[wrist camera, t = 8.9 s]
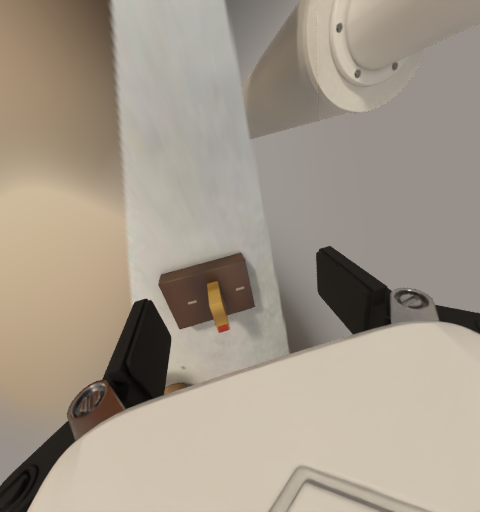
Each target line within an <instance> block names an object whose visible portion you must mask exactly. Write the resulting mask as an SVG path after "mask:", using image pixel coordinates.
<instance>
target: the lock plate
mask: <svg viewBox="0 0 480 512" xmlns="http://www.w3.org/2000/svg"><path fill="white" fill-rule="evenodd" d="M215 281H218V284H219V287H220V290H221V294H222V297H223V300H224V304H225V308H226V312H227V315H230V314H233V313H237V312H240V311H243V310H247V309H250V308H253V307H255V305H254V300H253V296H252V291H251V287H250V282H249V277H248V273H247V268H246V264H245V260H244V258H243V256H242V254H241V253H239V254H235V255H232V256H228V257H224V258H221V259H217V260H213V261H210V262H206V263H202V264H199V265H195V266H192V267H188V268H184V269H181V270H177V271H173V272H170V273H166V274H162V275H161V277H160V280H159V284H158V285H159V287H160V289H161V291H162V293H163V295H164V298H165V300H166V302H167V304H168V306H169V308H170V310H171V312H172V314H173V317H174V319H175V321H176V323H177V325H178V327H179V329H183V328H186V327H190V326H193V325H196V324H200V323H203V322H206V321H210V320H213V319H214V318H213V315H212V312H211V309H210V306H209V299H208V289H207V284H208V283H212V282H215Z"/></svg>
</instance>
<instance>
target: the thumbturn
mask: <svg viewBox="0 0 480 512" xmlns="http://www.w3.org/2000/svg"><path fill="white" fill-rule="evenodd" d="M207 289H208V299H209V306H210V309H211V312H212V315H213V318H214V321H215V324H216V327H217V330H218V332H219V333H220V332H223V331H227V330H229V329H230V327H229V322H228V317H227V312H226V308H225V304H224V300H223V297H222V294H221V290H220V287H219V284H218V281H215V282H212V283H208V284H207Z"/></svg>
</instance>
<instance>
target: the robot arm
mask: <svg viewBox="0 0 480 512" xmlns="http://www.w3.org/2000/svg"><path fill="white" fill-rule="evenodd" d="M479 23H480V0H334V4H333V7H332V12H331V18H330V28H329V39H330V49H331V53H332V57H333V61H334V63H335V65H336V67H337V70H338V71H339V72H340V74H341V75H342V77H343V78H344V79H346V80H347V81H348V82H349V83H351V84H353V85H355V86H360V87H369V86H373V85H376V84H379V83H381V82H383V81H385V80H387V79H389V78H390V77H391V76H393V75H394V74H395V73H396V72H397V71H398V70H399V69H400V68H401V67H402V66H403V64H404V63H405V62H406V60H407V59H408V58H409V56H410V55H412V54H414V53H416V52H418V51H420V50H422V49H425V48H427V47H429V46H431V45H433V44H436V43H437V42H440V41H442V40H444V39H446V38H448V37H451V36H453V35H455V34H457V33H459V32H462V31H464V30H466V29H468V28H470V27H472V26H474V25H477V24H479ZM316 261H317V284H318V285H317V287H318V293H319V295H320V296H321V298H322V299H323V300H324V301H325V302H326V303H327V305H328V306H329V307H330V308H331V309H332V310H333V312H334V313H335V314H336V315H337V316H338V317H339V318H340V320H341V321H342V322H343V323H344V324H345V326H346V327H347V328H348V329H349V330H350V331H351V333H352V334H353V335H350V336H347V337H343V338H340V339H337V340H334V341H331V342H327V343H324V344H321V345H318V346H315V347H311V348H308V349H305V350H302V351H299V352H296V353H292V354H289V355H286V356H283V357H280V358H276V359H273V360H270V361H267V362H264V363H261V364H258V365H254V366H251V367H248V368H245V369H242V370H239V371H236V372H233V373H229V374H226V375H223V376H220V377H217V378H214V379H211V380H208V381H205V382H202V383H199V384H196V385H193V386H189V387H186V388H183V389H180V390H177V391H175V392H172V393H169V394H166V395H164V391H165V384H166V376H167V369H168V361H169V354H170V347H171V335H170V333H169V331H168V329H167V327H166V326H165V324H164V322H163V320H162V318H161V316H160V315H159V313H158V311H157V309H156V307H155V305H154V304H153V302H152V301H151V300H148V299H143V300H140V301H136V302H135V303H134V305H133V307H132V309H131V312H130V314H129V317H128V319H127V322H126V324H125V326H124V329H123V331H122V334H121V336H120V338H119V341H118V343H117V346H116V348H115V350H114V353H113V355H112V358H111V360H110V362H109V365H108V367H107V370H106V372H105V375H104V377H103V379H102V380H100V381H96V382H94V383H92V384H90V385H88V386H87V387H86V388H84V389H83V390H82V391H81V392H80V393H79V394H78V395H77V396H76V397H75V398H74V400H73V401H72V403H71V405H70V406H69V409H68V412H67V418H68V421H67V422H66V423H65V424H64V425H63V426H62V427H61V428H60V429H59V430H58V431H57V432H56V433H55V434H53V435H52V436H51V437H50V438H49V439H48V440H47V441H46V442H45V443H44V444H43V445H42V446H41V447H39V448H38V449H37V450H36V451H35V452H34V453H33V454H32V455H31V456H30V457H29V458H28V459H27V460H26V461H25V462H23V463H22V464H21V465H20V466H19V467H18V468H17V469H16V470H15V471H14V472H13V473H12V474H11V475H10V476H9V477H8V478H7V479H6V480H5V481H4V482H3V483H2V485H1V486H0V512H480V313H475V312H470V311H465V310H459V309H454V308H448V307H443V306H438V305H435V303H434V301H433V299H432V298H431V297H430V296H429V295H427V294H425V293H423V292H421V291H418V290H416V289H411V288H398V289H395V290H393V291H391V290H390V289H388V288H387V286H386V285H384V284H383V283H382V282H380V281H379V280H377V279H376V278H375V277H373V276H372V275H370V274H369V273H367V272H366V271H365V270H363V269H362V268H360V267H359V266H358V265H356V264H355V263H353V262H352V261H351V260H349V259H348V258H346V257H345V256H344V255H342V254H341V253H339V252H338V251H336V250H335V249H334V248H332V247H331V246H328V247H325V248H321V249H319V252H317V253H316Z"/></svg>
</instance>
